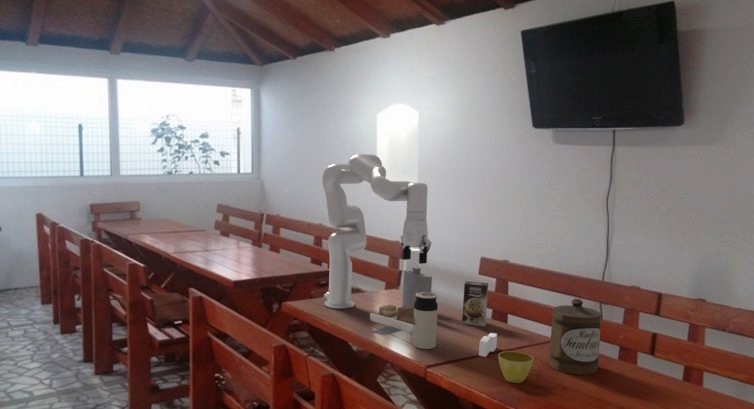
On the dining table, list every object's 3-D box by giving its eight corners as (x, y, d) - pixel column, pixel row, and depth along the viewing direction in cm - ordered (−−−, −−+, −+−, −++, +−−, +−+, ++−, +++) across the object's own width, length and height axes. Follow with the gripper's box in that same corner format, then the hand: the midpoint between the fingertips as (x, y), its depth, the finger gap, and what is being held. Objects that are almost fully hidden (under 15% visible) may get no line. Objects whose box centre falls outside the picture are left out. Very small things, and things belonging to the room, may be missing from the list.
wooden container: (565, 376, 189) (570, 305, 187) (539, 360, 203) (544, 294, 201) (607, 373, 193) (612, 303, 191) (579, 358, 207) (583, 292, 205)
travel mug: (437, 344, 216) (440, 293, 214) (433, 351, 208) (435, 298, 207) (415, 341, 218) (417, 290, 216) (410, 348, 210) (412, 295, 209)
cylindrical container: (400, 308, 263) (403, 250, 261) (404, 304, 270) (407, 247, 268) (416, 310, 261) (419, 251, 259) (420, 306, 268) (423, 249, 266)
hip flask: (431, 319, 247) (433, 270, 246) (423, 321, 245) (426, 271, 243) (406, 310, 260) (408, 263, 258) (398, 312, 258) (400, 264, 256)
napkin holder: (482, 361, 201) (483, 343, 201) (461, 350, 211) (462, 334, 211) (517, 355, 209) (518, 338, 208) (495, 345, 219) (496, 329, 218)
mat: (371, 332, 227) (371, 331, 227) (389, 327, 234) (389, 326, 234) (382, 335, 223) (383, 334, 223) (401, 330, 230) (401, 329, 230)
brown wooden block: (396, 326, 235) (397, 307, 235) (410, 322, 241) (411, 304, 240) (402, 327, 233) (403, 309, 233) (416, 324, 239) (417, 306, 238)
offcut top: (379, 313, 243) (379, 306, 243) (389, 310, 248) (389, 304, 248) (385, 315, 241) (385, 308, 241) (395, 312, 245) (396, 306, 245)
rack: (369, 320, 242) (370, 313, 242) (390, 315, 251) (390, 308, 251) (412, 333, 227) (413, 325, 227) (433, 328, 236) (433, 320, 235)
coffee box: (461, 324, 242) (463, 283, 241) (463, 320, 249) (465, 280, 247) (485, 326, 240) (487, 285, 239) (486, 322, 247) (488, 282, 245)
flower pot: (526, 374, 189) (528, 351, 189) (536, 386, 179) (537, 362, 178) (493, 373, 189) (495, 350, 188) (501, 386, 179) (502, 361, 178)
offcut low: (376, 320, 243) (376, 313, 242) (390, 316, 248) (390, 310, 248) (382, 322, 240) (382, 315, 240) (396, 318, 246) (396, 312, 246)
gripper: (394, 214, 237) (393, 258, 238) (423, 218, 223) (421, 265, 224) (410, 213, 241) (408, 257, 243) (439, 217, 227) (437, 264, 229)
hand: (414, 261), depth 234 cm, fingers open, 9 cm apart
